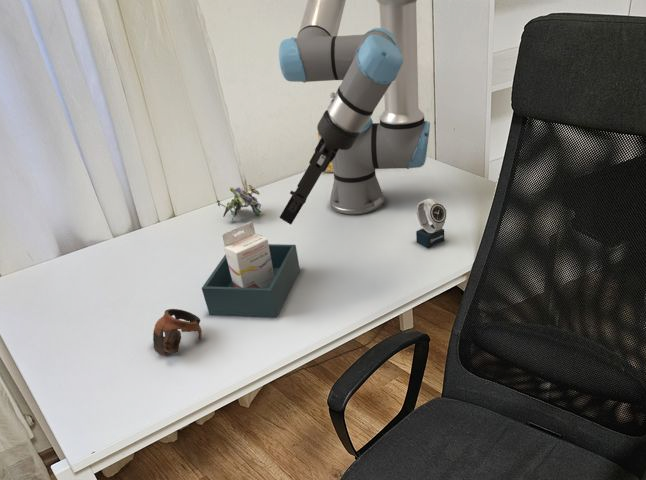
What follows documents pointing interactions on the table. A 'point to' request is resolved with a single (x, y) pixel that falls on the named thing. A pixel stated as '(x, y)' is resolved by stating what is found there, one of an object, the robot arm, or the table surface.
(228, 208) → the passion flower
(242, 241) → the ink cartridge box
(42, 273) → the table surface
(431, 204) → the watch
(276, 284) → the tote
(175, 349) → the brown banded ring
